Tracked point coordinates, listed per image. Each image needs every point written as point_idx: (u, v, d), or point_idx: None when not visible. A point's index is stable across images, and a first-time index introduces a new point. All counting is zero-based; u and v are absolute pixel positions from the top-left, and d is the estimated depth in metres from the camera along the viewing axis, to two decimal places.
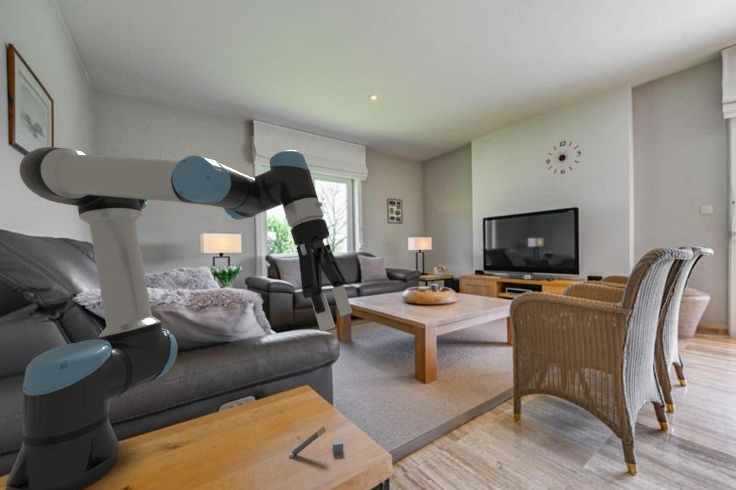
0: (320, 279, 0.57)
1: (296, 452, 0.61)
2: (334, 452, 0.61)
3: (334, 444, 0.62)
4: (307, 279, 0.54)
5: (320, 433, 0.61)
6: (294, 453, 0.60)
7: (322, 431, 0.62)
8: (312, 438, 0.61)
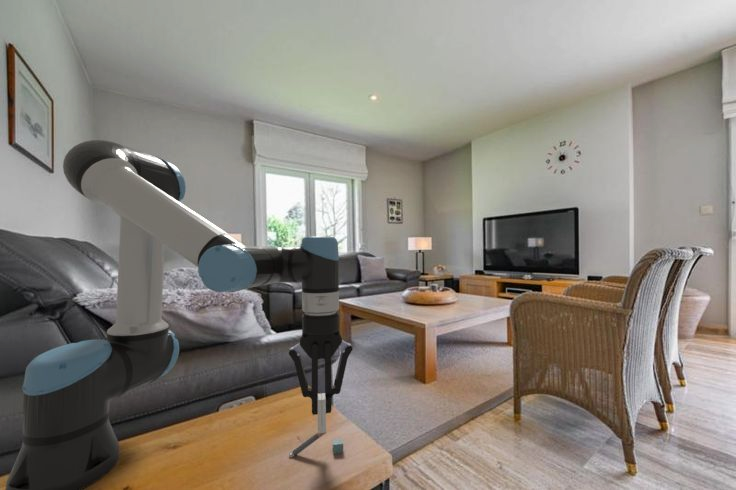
0: (315, 383, 0.61)
1: (296, 452, 0.61)
2: (334, 452, 0.61)
3: (334, 444, 0.62)
4: None
5: (321, 434, 0.61)
6: (294, 453, 0.60)
7: None
8: (313, 439, 0.61)
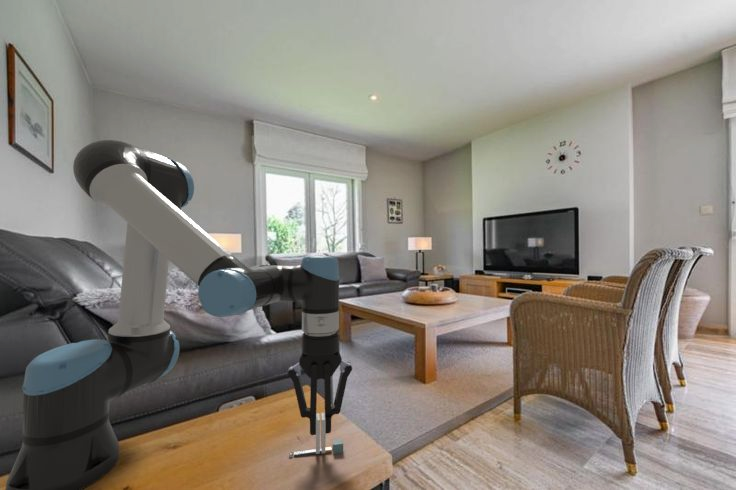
0: (313, 404, 0.61)
1: None
2: (334, 452, 0.61)
3: (334, 444, 0.62)
4: None
5: (326, 452, 0.62)
6: (295, 455, 0.61)
7: (329, 451, 0.62)
8: None
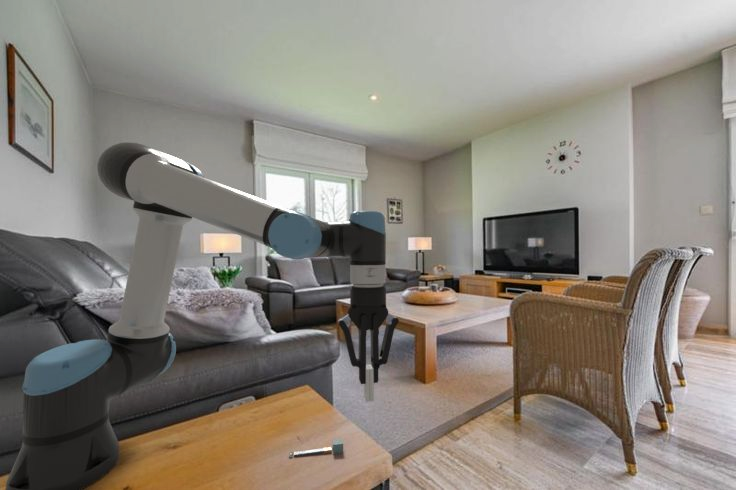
0: (363, 353, 0.63)
1: None
2: (334, 452, 0.61)
3: (334, 444, 0.62)
4: None
5: (326, 452, 0.62)
6: (295, 455, 0.61)
7: (329, 451, 0.62)
8: (317, 452, 0.61)
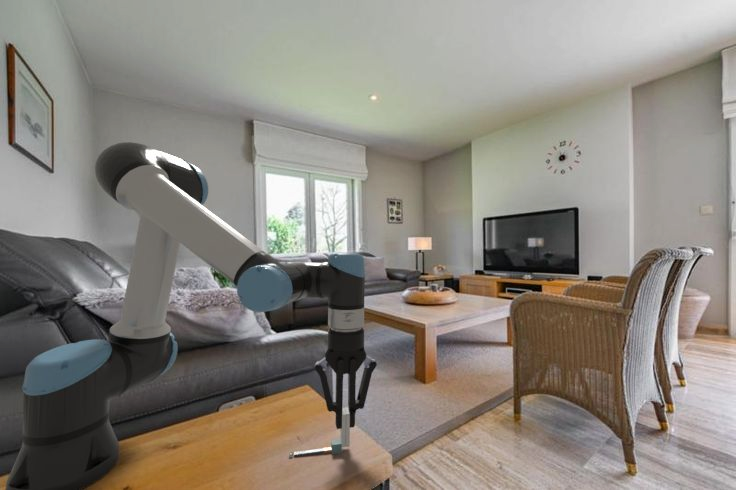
0: (339, 398, 0.62)
1: None
2: (333, 452, 0.61)
3: (333, 444, 0.62)
4: None
5: (326, 452, 0.62)
6: (295, 455, 0.61)
7: (329, 451, 0.62)
8: (317, 452, 0.61)
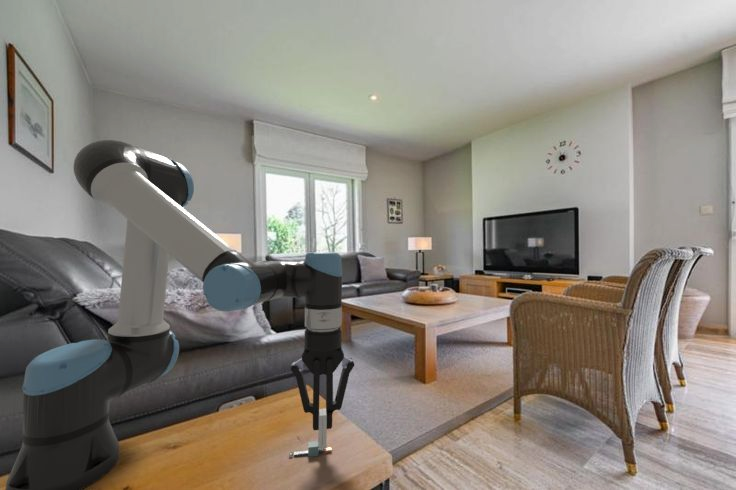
0: (316, 399, 0.61)
1: None
2: (309, 455, 0.61)
3: (309, 447, 0.61)
4: None
5: (326, 452, 0.62)
6: (295, 455, 0.61)
7: (329, 451, 0.62)
8: None
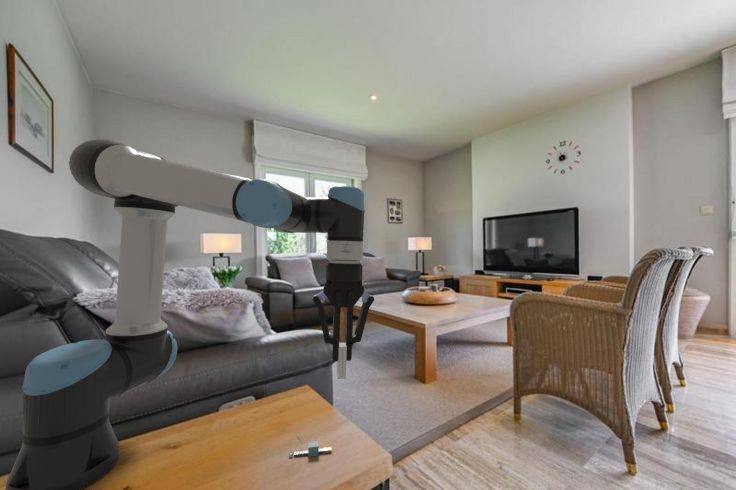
0: (337, 330, 0.62)
1: None
2: (309, 455, 0.61)
3: (309, 447, 0.61)
4: None
5: (326, 452, 0.62)
6: (295, 455, 0.61)
7: (329, 451, 0.62)
8: None
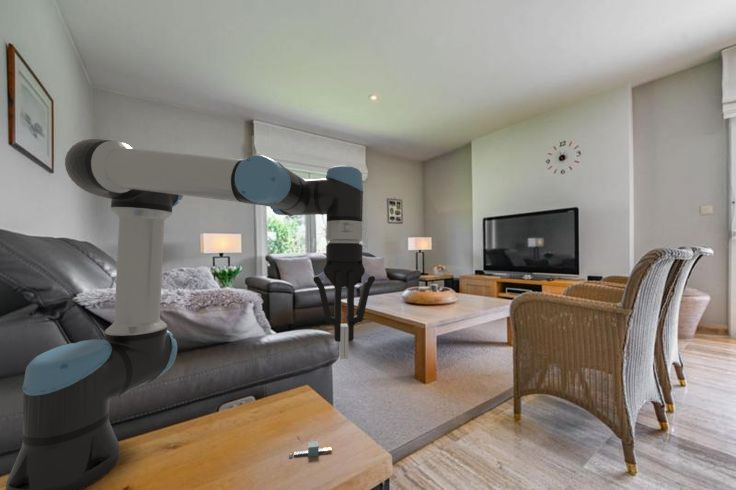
0: (338, 310, 0.62)
1: None
2: (309, 455, 0.61)
3: (309, 447, 0.61)
4: None
5: (326, 452, 0.62)
6: (295, 455, 0.61)
7: (329, 451, 0.62)
8: None
